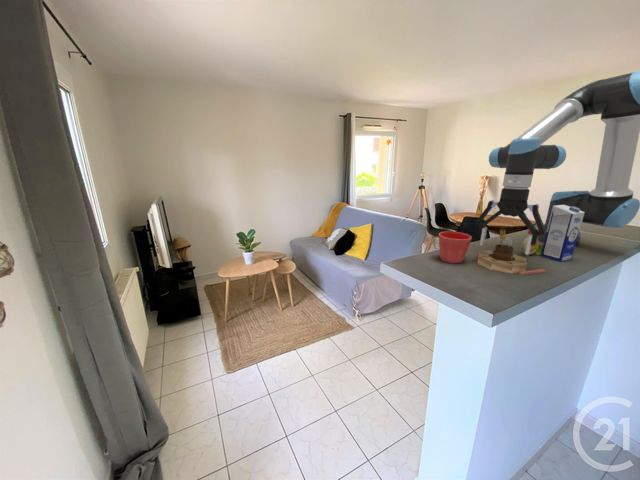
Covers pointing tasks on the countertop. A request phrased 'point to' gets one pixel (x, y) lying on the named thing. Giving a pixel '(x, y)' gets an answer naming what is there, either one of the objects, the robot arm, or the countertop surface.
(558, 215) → the milk carton
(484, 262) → the octagonal ring
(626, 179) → the robot arm
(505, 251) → the utensil holder
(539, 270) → the pink stick
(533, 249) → the bird rattle
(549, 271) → the countertop surface
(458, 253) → the flower pot
